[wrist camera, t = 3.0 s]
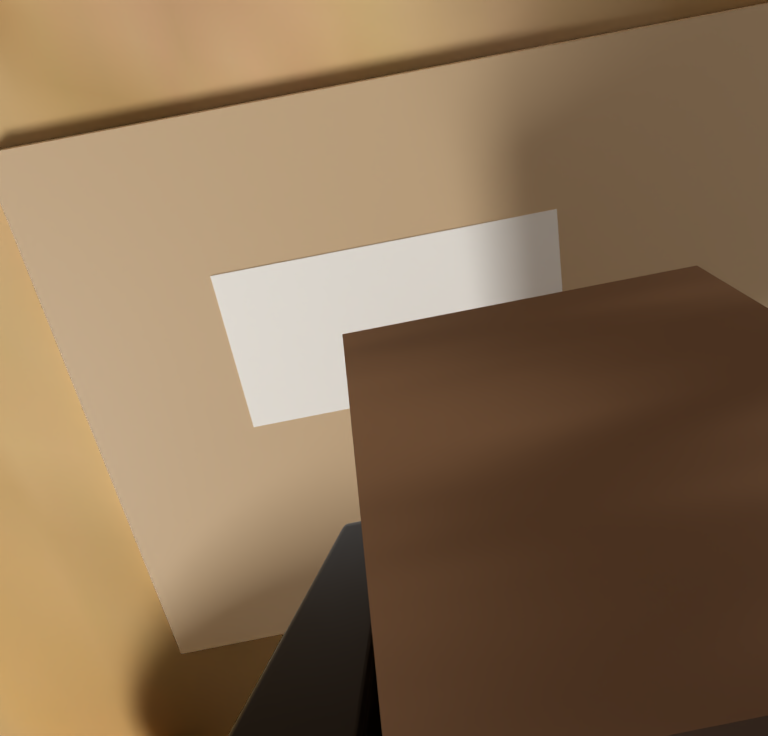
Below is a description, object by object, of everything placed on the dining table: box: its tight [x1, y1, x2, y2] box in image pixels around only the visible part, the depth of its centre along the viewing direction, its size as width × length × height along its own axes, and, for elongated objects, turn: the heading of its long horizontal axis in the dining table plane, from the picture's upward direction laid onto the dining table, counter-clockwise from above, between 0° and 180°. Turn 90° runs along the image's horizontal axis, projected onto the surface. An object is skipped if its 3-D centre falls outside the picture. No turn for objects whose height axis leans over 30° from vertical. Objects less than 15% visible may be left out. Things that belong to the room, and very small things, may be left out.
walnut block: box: [342, 265, 768, 736], centre depth 7 cm, size 4×4×6 cm
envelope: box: [0, 3, 768, 654], centre depth 13 cm, size 14×10×1 cm
